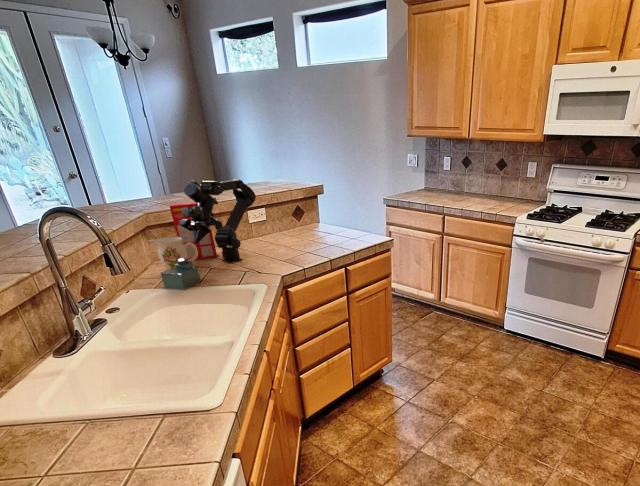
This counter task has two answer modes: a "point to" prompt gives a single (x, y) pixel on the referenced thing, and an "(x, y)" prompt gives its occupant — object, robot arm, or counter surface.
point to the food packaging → (204, 246)
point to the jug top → (181, 276)
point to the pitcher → (172, 250)
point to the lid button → (183, 261)
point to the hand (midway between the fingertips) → (196, 243)
